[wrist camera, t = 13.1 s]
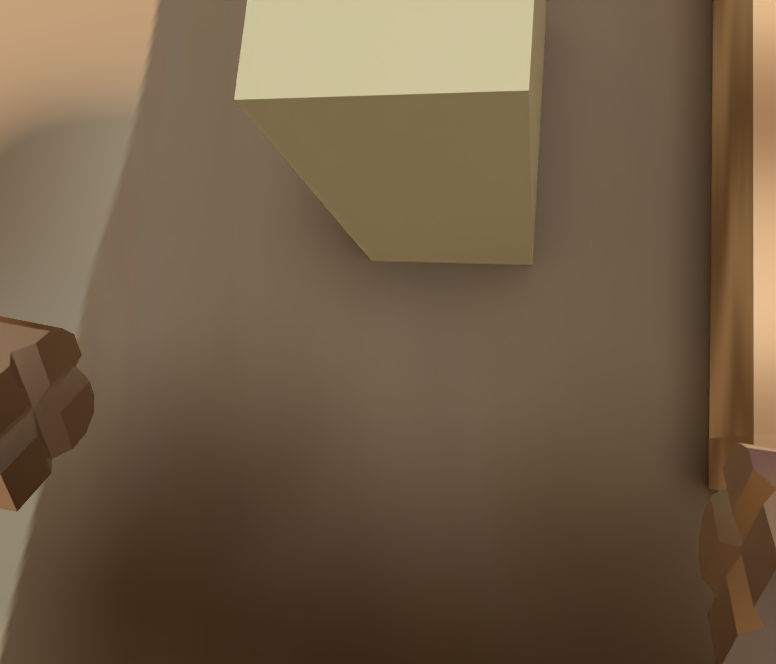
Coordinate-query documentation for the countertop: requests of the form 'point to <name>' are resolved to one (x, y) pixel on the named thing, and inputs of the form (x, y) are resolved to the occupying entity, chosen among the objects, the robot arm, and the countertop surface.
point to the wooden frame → (742, 231)
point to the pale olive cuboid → (406, 118)
